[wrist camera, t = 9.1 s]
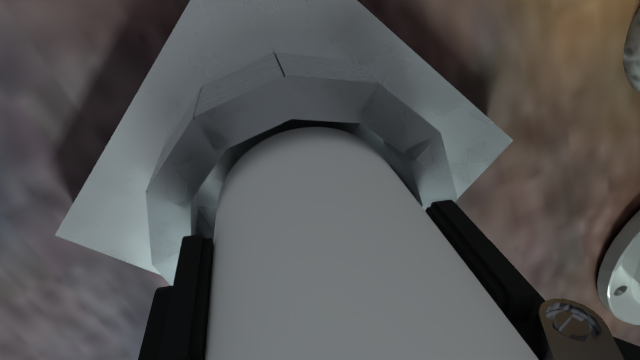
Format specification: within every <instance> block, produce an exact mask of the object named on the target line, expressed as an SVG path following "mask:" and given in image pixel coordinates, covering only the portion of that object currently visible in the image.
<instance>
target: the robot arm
mask: <svg viewBox="0 0 640 360" xmlns="http://www.w3.org/2000/svg"><path fill="white" fill-rule="evenodd" d="M425 212H426V213H427V214H428V216H429V217H430V218H431V220H432V221H433V222H434V224H435V225H436V226H437V227H438V229H439V230H440V231H441V233H442V234H443V235H444V236H445V238H446V239H447V240H448V242H449V243H450V244H451V246H452V247H453V248H454V249H455V251H456V252H457V253H458V255H459V256H460V257H461V259H462V260H463V261H464V263H465V264H466V265H467V266H468V268H469V269H470V270H471V272H472V273H473V274H474V276H475V277H476V278H477V279H478V281H479V282H480V283H481V285H482V286H483V287H484V289H485V290H486V291H487V293H488V294H489V295H490V296H491V298H492V299H493V300H494V302H495V303H496V304H497V306H498V307H499V308H500V309H501V311H502V312H503V313H504V315H505V316H506V317H507V319H508V320H509V321H510V323H511V324H512V325H513V327H514V328H515V329H516V330H517V332H518V333H519V334H520V336H521V337H522V338H523V340H524V341H525V342H526V344H527V345H528V346H529V347H530V349H531V350H532V351H533V353H534V354H535V355H536V357H537V358H538V359H539V360H640V347H639V346H636V345H634V344H631V343H628V342H626V341H623V340H621V339H618V338H615V337H613V336H612V334H611V332H610V330H609V328H608V326H607V325H606V323H605V322H604V321H603V319H602V318H601V317H600V316H599V315H598V314H596V313H595V312H594V311H593V310H591V309H590V308H588V307H586V306H585V305H582V304H580V303H577V302H575V301H572V300H567V299H550V300H546V301H545V300H544V299H543V298H542V297H541V296H540V295H539V293H538V292H537V291H536V290H535V289H534V288H533V287H532V286H531V285H530V284H529V282H528V281H527V280H526V279H525V278H524V277H523V276H522V275H521V274H520V273H519V272H518V270H517V269H516V268H515V267H514V266H513V265H512V264H511V263H510V262H509V261H508V260H507V258H506V257H505V256H504V255H503V254H502V253H501V252H500V251H499V250H498V249H497V248H496V246H495V245H494V244H493V243H492V242H491V241H490V240H489V239H488V238H487V237H486V236H485V235H484V234H483V233H482V232H481V231H480V230H479V228H478V227H477V226H476V225H475V224H474V223H473V222H472V221H471V220H470V219H469V218H468V216H467V215H466V214H465V213H464V212H463V211H462V210H461V209H460V208H459V207H458V205H457V204H456V203H455V202H454V201H453V200H443V201H435V202H432V203H431V206H430V207H427V208H426V211H425ZM213 251H214V243H213V239H212V238H205V235H204V234H198V235H190V236H184V237H183V238H182V243H181V247H180V252H179V257H178V262H177V267H176V272H175V277H174V282H173V286H167V287H160V288H158V289H157V290H156V292H155V294H154V298H153V302H152V306H151V310H150V314H149V318H148V322H147V326H146V330H145V334H144V338H143V342H142V346H141V350H140V354H139V358H138V360H205V349H206V337H207V324H208V312H209V300H210V287H211V275H212V263H213ZM597 287H598V295H599V297H600V299H601V302H602V303H603V304H604V305H605V306H606V307H607V308H608V309H609V310H610V311H611V312H612V313H613V314H614V315H615V316H616V317H617V318H619V319H620V320H622V321H623V322H627V323H630V324H633V325H640V210H639V211H638V212H637V213H636V214H635V215H634V216H633V217H632V218H631V219H630V220H629V221H628V222H627V223H626V224H625V226H624V227H623V228H622V229H621V231H620V232H619V233H618V235H617V236H616V237H615V238H614V240H613V242H612V244H611V245H610V247H609V249H608V250H607V252H606V254H605V256H604V259H603V261H602V264H601V266H600V269H599V275H598V280H597Z"/></svg>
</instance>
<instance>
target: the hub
mask: <svg viewBox="0 0 640 360" xmlns="http://www.w3.org/2000/svg"><path fill="white" fill-rule="evenodd" d="M304 127H326V128H333V129H338V130H342V131H345V132H348V133H350V134H353V135H355V136H357V137H359V138H361V139H362V140H364V141H365V142H367V143H368V144H370V145H371V146H372V147H373V148H374V149H375V150H376V151H377V152H378V153H379V154H380V155H381V156H382V157H383V158H384V160H385V161H386V162H387V163H388V164H389V166H390V167H391V168H392V169H393V171H394V172H395V173H396V174H397V176H398V177H399V178H400V180H401V181H402V182H403V183H404V185H405V186H406V187H407V189H408V190H409V191H410V192H411V194H412V195H413V196H414V198H415V199H416V200H417V202H418V203H419V204H420V205H421V207H422V208H423V209H424V211H426V208H427V207H430V206H431V203H432V202H435V201H443V200H453V201H454V202H455V203H456V200H457V199H458V198H459V197H460V196H461V195H462V194H463V192H464V191H465V190H466V189H467V188H468V187H469V186H470V185H471V184H472V183H473V182H474V181H475V180H476V179H477V178H478V177H479V176H480V175H481V174H482V173H483V172H484V171H485V169H486V168H487V167H488V166H489V165H490V164H491V163H492V162H493V161H494V160H495V159H496V158H497V157H498V156H499V155H500V154H501V153H502V152H503V151H504V150H505V149H506V147H507V146H508V145H509V144H510V143H511V142H512V141H513V140H512V139H511V138H510V137H509V136H508V135H507V134H506V133H504V132H503V131H502V130H501V129H500V128H499V127H498V126H497V125H496V124H494V123H493V122H492V121H491V120H490V119H489V118H488V117H487V116H486V115H484V114H483V113H482V112H481V111H480V110H479V109H478V108H477V107H475V106H474V105H473V104H472V103H471V102H470V101H469V100H468V99H467V98H465V97H464V96H463V95H462V94H461V93H460V92H459V91H458V90H457V89H455V88H454V87H453V86H452V85H451V84H450V83H449V82H448V81H446V80H445V79H444V78H443V77H442V76H441V75H440V74H439V73H438V72H436V71H435V70H434V69H433V68H432V67H431V66H430V65H429V64H428V63H426V62H425V61H424V60H423V59H422V58H421V57H420V56H419V55H418V54H416V53H415V52H414V51H413V50H412V49H411V48H410V47H409V46H407V45H406V44H405V43H404V42H403V41H402V40H401V39H400V38H399V37H397V36H396V35H395V34H394V33H393V32H392V31H391V30H390V29H389V28H387V27H386V26H385V25H384V24H383V23H382V22H381V21H380V20H378V19H377V18H376V17H375V16H374V15H373V14H372V13H371V12H370V11H368V10H367V9H366V8H365V7H364V6H363V5H362V4H361V3H360V2H358V1H357V0H190V1H189V3H188V5H187V7H186V8H185V10H184V12H183V14H182V15H181V17H180V19H179V21H178V22H177V24H176V26H175V28H174V29H173V31H172V33H171V34H170V36H169V38H168V40H167V41H166V43H165V45H164V47H163V48H162V50H161V52H160V54H159V55H158V57H157V59H156V61H155V62H154V64H153V66H152V68H151V69H150V71H149V73H148V74H147V76H146V78H145V80H144V81H143V83H142V85H141V87H140V88H139V90H138V92H137V94H136V95H135V97H134V99H133V101H132V102H131V104H130V106H129V107H128V109H127V111H126V113H125V114H124V116H123V118H122V120H121V121H120V123H119V125H118V127H117V128H116V130H115V132H114V134H113V135H112V137H111V139H110V141H109V142H108V144H107V146H106V147H105V149H104V151H103V153H102V154H101V156H100V158H99V160H98V161H97V163H96V165H95V167H94V168H93V170H92V172H91V174H90V175H89V177H88V179H87V180H86V182H85V184H84V186H83V187H82V189H81V191H80V193H79V194H78V196H77V198H76V200H75V201H74V203H73V205H72V207H71V208H70V210H69V212H68V214H67V215H66V217H65V219H64V220H63V222H62V224H61V226H60V227H59V229H58V231H57V233H56V234H55V235H56V236H59V237H61V238H64V239H67V240H69V241H72V242H75V243H77V244H80V245H82V246H85V247H88V248H90V249H93V250H96V251H98V252H101V253H104V254H106V255H109V256H112V257H114V258H117V259H120V260H122V261H125V262H128V263H130V264H133V265H136V266H138V267H141V268H144V269H146V270H149V271H152V272H154V273H157V274H160V275H162V276H163V277H164V279H165V280H166V281H167V282H168V283H169V284H170V285H171V286H173V282H174V277H175V272H176V267H177V262H178V257H179V252H180V247H181V243H182V238H183V237H184V236H190V235H198V234H204V235H205V238H212V239H213V242H214V230H215V220H216V211H217V203H218V198H219V194H220V191H221V188H222V185H223V183H224V180H225V178H226V177H227V175H228V173H229V172H230V170H231V169H232V167H233V166H234V165H235V163H236V162H237V161H238V160H239V159H240V158H241V157H242V156H243V155H244V154H245V153H246V152H247V151H249V150H250V149H251V148H252V147H254V146H255V145H257V144H258V143H260V142H261V141H263V140H265V139H267V138H269V137H271V136H273V135H276V134H278V133H281V132H284V131H288V130H292V129H297V128H304Z"/></svg>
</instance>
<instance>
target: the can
mask: <svg viewBox="0 0 640 360" xmlns="http://www.w3.org/2000/svg"><path fill="white" fill-rule="evenodd" d="M213 243H214V251H213V263H212V275H211V287H210V300H209V312H208V324H207V337H206V349H205V360H539V359H538V358H537V357H536V355H535V354H534V353H533V351H532V350H531V349H530V347H529V346H528V345H527V344H526V342H525V341H524V340H523V338H522V337H521V336H520V334H519V333H518V332H517V330H516V329H515V328H514V327H513V325H512V324H511V323H510V321H509V320H508V319H507V317H506V316H505V315H504V313H503V312H502V311H501V309H500V308H499V307H498V306H497V304H496V303H495V302H494V300H493V299H492V298H491V296H490V295H489V294H488V293H487V291H486V290H485V289H484V287H483V286H482V285H481V283H480V282H479V281H478V279H477V278H476V277H475V276H474V274H473V273H472V272H471V270H470V269H469V268H468V266H467V265H466V264H465V263H464V261H463V260H462V259H461V257H460V256H459V255H458V253H457V252H456V251H455V249H454V248H453V247H452V246H451V244H450V243H449V242H448V240H447V239H446V238H445V236H444V235H443V234H442V233H441V231H440V230H439V229H438V227H437V226H436V225H435V224H434V222H433V221H432V220H431V218H430V217H429V216H428V214H427V213H426V212H425V211H424V209H423V208H422V207H421V205H420V204H419V203H418V202H417V200H416V199H415V198H414V196H413V195H412V194H411V192H410V191H409V190H408V189H407V187H406V186H405V185H404V183H403V182H402V181H401V180H400V178H399V177H398V176H397V174H396V173H395V172H394V171H393V169H392V168H391V167H390V166H389V164H388V163H387V162H386V161H385V160H384V158H383V157H382V156H381V155H380V154H379V153H378V152H377V151H376V150H375V149H374V148H373V147H372V146H371V145H370V144H368V143H367V142H365V141H364V140H362V139H361V138H359V137H357V136H355V135H353V134H350V133H348V132H345V131H342V130H338V129H333V128H326V127H304V128H297V129H292V130H288V131H284V132H281V133H278V134H276V135H273V136H271V137H269V138H267V139H265V140H263V141H261V142H260V143H258V144H257V145H255V146H254V147H252V148H251V149H250V150H249V151H247V152H246V153H245V154H244V155H243V156H242V157H241V158H240V159H239V160H238V161H237V162H236V163H235V165H234V166H233V167H232V169H231V170H230V172H229V173H228V175H227V177H226V178H225V180H224V183H223V185H222V188H221V191H220V194H219V198H218V203H217V211H216V220H215V230H214V242H213Z"/></svg>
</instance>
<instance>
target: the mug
mask: <svg viewBox="0 0 640 360" xmlns="http://www.w3.org/2000/svg"><path fill="white" fill-rule="evenodd" d="M623 63H624V69H625V74H626V77H627V79H628V81H629V83H630V84H631V86H632V87H633V88H635V89H636V90H637V91H638V92H639V93H640V7H639V8H638V10H637V12H636V13H635V16H634V18H633V21H632V23H631V25H630V28H629V30H628V33H627V37H626V41H625V45H624V54H623Z"/></svg>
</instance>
